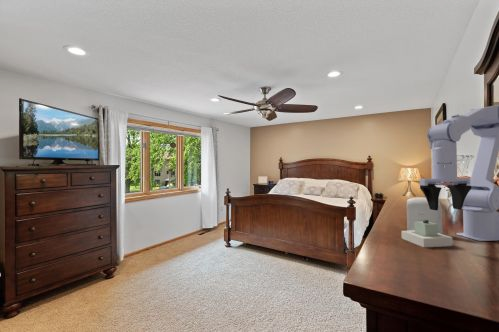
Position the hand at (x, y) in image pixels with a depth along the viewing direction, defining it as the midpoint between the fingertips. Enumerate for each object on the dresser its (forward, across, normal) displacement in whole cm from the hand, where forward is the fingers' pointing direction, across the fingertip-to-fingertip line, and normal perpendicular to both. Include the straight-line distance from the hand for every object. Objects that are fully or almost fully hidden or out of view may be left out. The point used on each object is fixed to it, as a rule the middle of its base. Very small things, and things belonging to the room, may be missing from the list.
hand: (445, 209), depth 72 cm
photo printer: (+11, -4, -13) cm, 17 cm away
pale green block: (+10, +4, -3) cm, 12 cm away
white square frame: (+10, +4, -3) cm, 12 cm away
